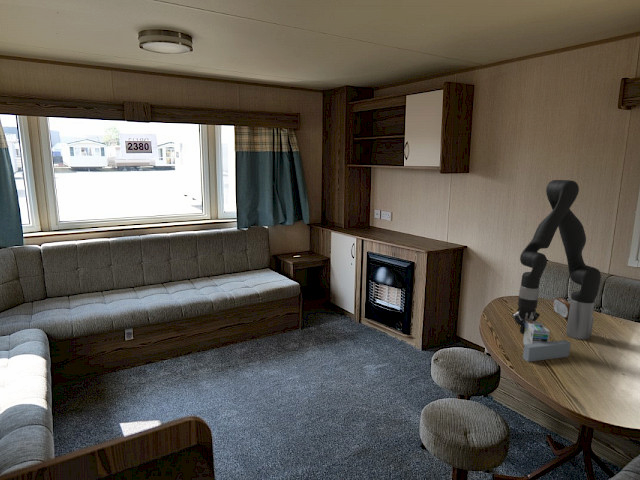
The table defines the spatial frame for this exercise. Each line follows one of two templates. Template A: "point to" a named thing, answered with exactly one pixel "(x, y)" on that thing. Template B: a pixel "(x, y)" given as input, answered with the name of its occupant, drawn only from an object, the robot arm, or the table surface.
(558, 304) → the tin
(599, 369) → the table surface
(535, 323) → the light bulb box
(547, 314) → the table surface
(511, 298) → the table surface
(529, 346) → the slate prism bar
